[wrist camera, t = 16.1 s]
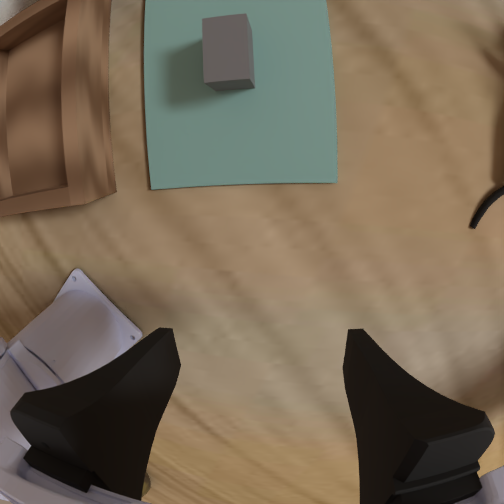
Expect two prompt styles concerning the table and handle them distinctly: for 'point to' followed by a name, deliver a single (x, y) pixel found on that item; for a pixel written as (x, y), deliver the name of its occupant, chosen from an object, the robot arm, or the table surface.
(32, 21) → the wooden tray
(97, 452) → the robot arm
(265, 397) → the table surface
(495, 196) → the bike brake
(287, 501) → the table surface
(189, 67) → the lid
